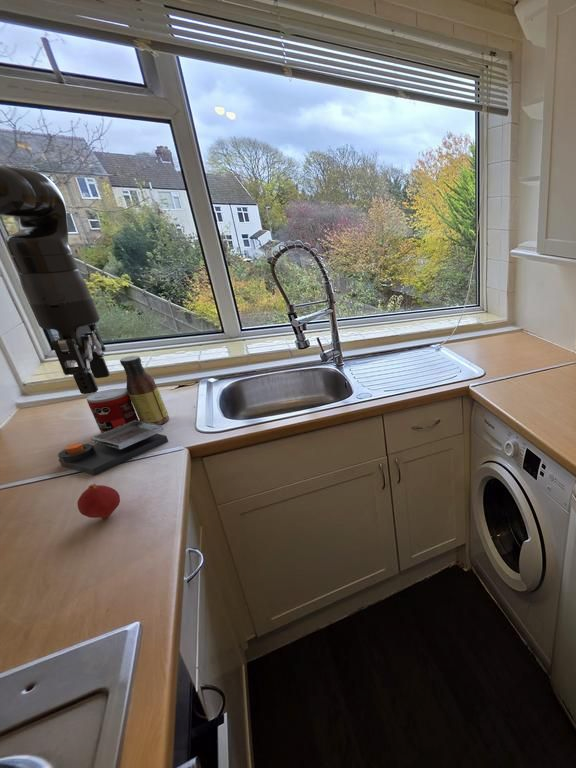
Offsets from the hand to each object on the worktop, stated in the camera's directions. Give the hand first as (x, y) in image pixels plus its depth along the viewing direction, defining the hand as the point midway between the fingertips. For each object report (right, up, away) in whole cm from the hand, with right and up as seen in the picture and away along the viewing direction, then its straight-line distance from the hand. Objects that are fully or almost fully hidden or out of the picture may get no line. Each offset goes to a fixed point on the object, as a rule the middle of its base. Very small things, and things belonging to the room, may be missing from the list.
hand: (96, 384), depth 76 cm
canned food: (-30, -13, +36) cm, 48 cm away
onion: (-3, -27, +5) cm, 27 cm away
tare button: (-26, -16, +20) cm, 37 cm away
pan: (-19, -13, +26) cm, 35 cm away
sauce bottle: (-24, -11, +40) cm, 48 cm away
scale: (-21, -17, +25) cm, 37 cm away
